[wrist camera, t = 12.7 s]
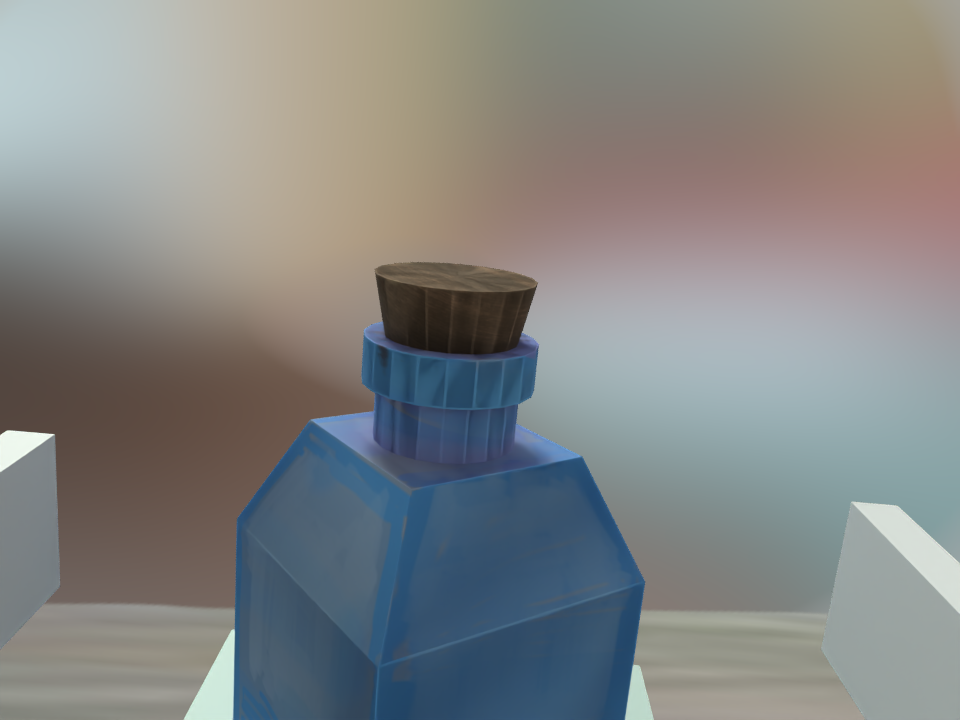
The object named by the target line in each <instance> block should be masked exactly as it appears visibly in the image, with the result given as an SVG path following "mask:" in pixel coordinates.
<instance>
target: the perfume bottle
mask: <svg viewBox="0 0 960 720" xmlns="http://www.w3.org/2000/svg"><path fill="white" fill-rule="evenodd" d="M375 274H376V280H377V287H378V293H379V300H380V306H381V312H382V318H383V322H379V323H375V324H371V325H370V326H369V327H367V328H366V329H364V340H363V358H362V383H363V384H364V385H365V386H366V387H367V388H368V389H370V390H371V391H372V392H374V393H375V403H374V411H373V412H365V413H358V414H350V415H342V416H335V417H327V418H319V419H311V420H310V421H309V422H308V424H307V425H306V426H305V428H304V429H303V430H302V432H301V433H300V434H299V436H298V437H297V438H296V440H295V441H294V442H293V444H292V445H291V447H290V448H289V449H288V451H287V452H286V453H285V455H284V456H283V457H282V459H281V460H280V461H279V463H278V464H277V465H276V467H275V468H274V469H273V471H272V472H271V474H270V475H269V476H268V478H267V479H266V480H265V482H264V483H263V484H262V486H261V487H260V488H259V490H258V491H257V492H256V494H255V495H254V497H253V498H252V499H251V501H250V502H249V503H248V505H247V506H246V507H245V509H244V510H243V512H242V513H241V514H240V516H239V517H238V518H237V541H236V543H237V545H236V594H235V645H234V697H233V720H625V716H626V709H627V703H628V696H629V689H630V682H631V675H632V668H633V661H634V655H635V648H636V641H637V634H638V627H639V620H640V613H641V606H642V600H643V592H644V585H645V581H644V579H643V577H642V575H641V573H640V571H639V569H638V567H637V565H636V563H635V561H634V559H633V557H632V555H631V553H630V551H629V549H628V547H627V545H626V543H625V541H624V539H623V537H622V535H621V533H620V531H619V529H618V527H617V525H616V523H615V521H614V519H613V517H612V515H611V513H610V511H609V509H608V507H607V505H606V503H605V501H604V499H603V497H602V495H601V493H600V491H599V489H598V487H597V485H596V483H595V481H594V479H593V477H592V475H591V473H590V471H589V469H588V467H587V465H586V463H585V461H584V459H583V457H582V456H580V455H578V454H576V453H574V452H572V451H570V450H568V449H566V448H564V447H562V446H560V445H558V444H556V443H554V442H552V441H550V440H548V439H546V438H544V437H542V436H540V435H538V434H536V433H534V432H532V431H530V430H528V429H526V428H524V427H522V426H520V425H518V424H516V419H517V409H518V404H520V403H522V402H523V401H525V400H527V399H529V398H531V396H532V394H533V391H534V385H535V375H536V365H537V356H538V347H539V344H538V343H537V342H536V341H535V340H534V339H533V338H532V337H530V336H528V335H526V334H524V333H522V331H523V327H524V324H525V321H526V318H527V315H528V312H529V309H530V305H531V303H532V300H533V296H534V293H535V290H536V287H537V284H538V283H537V282H536V281H535V280H534V279H532V278H530V277H527V276H524V275H522V274H518V273H514V272H509V271H505V270H500V269H494V268H487V267H481V266H472V265H463V264H450V263H429V262H424V263H423V262H411V263H394V264H388V265H382V266H380V267H378V268H376V269H375Z"/></svg>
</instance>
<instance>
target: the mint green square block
mask: <svg viewBox="0 0 960 720" xmlns="http://www.w3.org/2000/svg"><path fill="white" fill-rule="evenodd" d="M234 645H235V630H232V631H231V632H230V634H229V636H228V638H227V640H226V642H225V644H224V645H223V647H222V649H221V651H220V653H219V655H218V657H217V659H216V660H215V662H214V664H213V666H212V668H211V670H210V672H209V673H208V675H207V677H206V679H205V681H204V683H203V685H202V687H201V688H200V690H199V692H198V694H197V696H196V698H195V700H194V701H193V703H192V705H191V707H190V709H189V711H188V713H187V715H186V716H185V718H184V720H233V697H234ZM625 720H654V719H653V715H652V711H651V707H650V703H649V700H648V696H647V692H646V688H645V684H644V681H643V677H642V673H641V669H640V666H638V665H633V668H632V675H631V682H630V689H629V696H628V703H627V709H626V716H625Z"/></svg>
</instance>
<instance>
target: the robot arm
mask: <svg viewBox="0 0 960 720" xmlns="http://www.w3.org/2000/svg"><path fill="white" fill-rule="evenodd" d="M57 515H58V514H57V485H56V457H55V435H54V434H44V433H32V432H19V431H6V432H5V433H3V434H1V435H0V649H1V648H2V647H3V646H4V645H5V644H6V643H7V642H8V641H9V640H10V639H11V638H12V637H13V636H14V635H15V634H16V633H17V631H18V630H19V629H20V628H21V627H22V626H23V625H24V624H25V623H26V622H27V621H28V620H29V619H30V618H31V617H32V616H33V615H34V613H35V612H36V611H37V610H38V609H39V608H40V607H41V606H42V605H43V604H44V603H45V602H46V601H47V600H48V599H49V598H50V596H52V594H53V593H54V592H55V591H56V590H57V589H58V588H59V587H60V571H59V543H58V542H59V541H58V516H57ZM821 650H822V652H823V653H824V655H825V657H826V658H827V660H828V661H829V663H830V664H831V666H832V668H833V669H834V671H835V672H836V674H837V675H838V677H839V679H840V680H841V682H842V683H843V685H844V687H845V688H846V690H847V691H848V693H849V694H850V696H851V698H852V699H853V701H854V702H855V704H856V705H857V707H858V709H859V710H860V712H861V713H862V715H863V716H864V718H865V720H960V563H959V562H958V561H956V560H955V559H954V558H953V557H952V556H951V555H950V554H949V553H948V552H947V551H946V550H944V548H942V547H941V546H940V545H939V544H938V543H937V542H936V541H935V540H934V539H933V538H932V537H931V536H929V535H928V534H927V533H926V532H925V531H924V530H923V529H922V528H921V527H920V526H918V525H917V524H916V523H915V522H914V521H913V520H912V519H911V518H910V517H909V516H908V515H907V514H906V513H905V512H904V511H902V510H901V509H900V508H899V507H898V506H895V505H883V504H871V503H858V502H851V505H850V510H849V515H848V520H847V525H846V530H845V535H844V540H843V544H842V550H841V555H840V559H839V564H838V569H837V574H836V579H835V584H834V589H833V594H832V599H831V603H830V608H829V613H828V618H827V623H826V628H825V633H824V638H823V643H822V648H821Z"/></svg>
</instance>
